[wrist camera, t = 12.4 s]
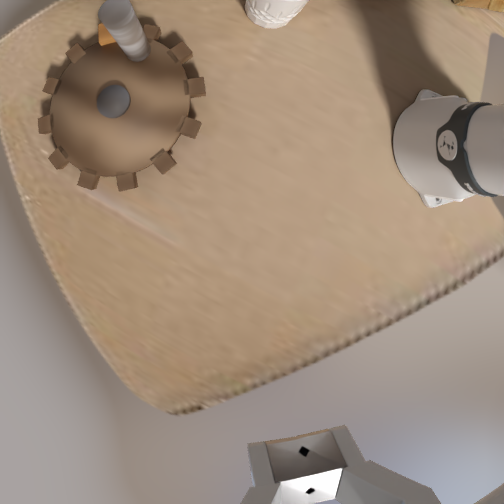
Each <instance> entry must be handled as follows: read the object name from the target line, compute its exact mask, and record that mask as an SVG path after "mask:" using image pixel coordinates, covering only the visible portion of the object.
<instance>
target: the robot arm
mask: <svg viewBox="0 0 504 504" xmlns="http://www.w3.org/2000/svg"><path fill="white" fill-rule="evenodd" d="M393 148H394V155H395V159H396V163H397V165H398V168H399V170H400V172H401V174H402V176H403V177H404V178H405V180H406V181H407V182H408V183H409V184H410V185H411V186H412V187H413V188H414V189H416V190H417V191H418V193H419V194H420V196H421V198H422V201H423V202H424V204H425V205H426V206H427V207H431V208H434V207H437V206H440V205H443V204H446V203H450V202H453V201H459V202H460V201H463V199H466V198H469V197H471V196H474V195H479V196H484V197H486V196H488V197H489V196H490V197H494V196H498V195H501V196H504V104H498V105H492V104H490V103H483V102H467V99H466V98H459V97H458V96H456V95H451V96H442V95H440V94H438V93H435V92H433V91H431V90H428V89H424V90H421V91H420V92H419V94H418V96H417V98H416V100H415V102H414V103H413V104H412V105H410V106H409V107H408V108H406V109H405V110H404V111H403V113H402V114H401V115H400V117H399V119H398V121H397V123H396V126H395V130H394V137H393ZM436 198H437V199H436ZM247 448H248V456H249V463H250V470H251V477H252V483H253V487H250V488H249V490H248V492H247V493H246V495H245V497H244V498H243V500H242V502H241V504H313V503H318V502H322V501H326V500H331V499H335V498H336V500H337V501H338V502H340V503H341V504H441V503H440V501H439V500H438V498H437V497H436V495H435V493H434V492H433V491H432V489H431V488H429V487H427V486H424V485H422V484H420V483H418V482H415V481H413V480H411V479H409V478H406V477H404V476H402V475H400V474H398V473H396V472H393V471H391V470H389V469H387V468H385V467H383V466H381V465H379V464H377V463H375V462H373V461H371V460H369V461H365V459H364V457H363V455H362V453H361V452H360V450H359V448H358V446H357V444H356V442H355V441H354V439H353V437H352V435H351V433H350V431H349V430H348V428H347V427H346V426H345V425H342V426H339V427H334V428H331V429H325V430H321V431H316V432H312V433H308V434H303V435H298V436H296V437H291V438H284V439H278V440H270V441H265V442H264V441H263V442H256V443H248V444H247ZM474 504H504V483H503V484H502V485H501V486H499V487H498V488H497V489H495V490H494V491H492V492H491V493H489V494H488V495H487V496H485V497H484V498H482V499H481V500H479V501H477V502H476V503H474Z"/></svg>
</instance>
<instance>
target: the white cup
mask: <svg viewBox="0 0 504 504" xmlns="http://www.w3.org/2000/svg"><path fill="white" fill-rule="evenodd" d="M308 1H309V0H246V3H245V10H246V14H247V16H248V17H249V18H250V19H251V20H252V21H253V23H255V24H257V25H259V26H261V27H264V28H274V29H276V28H279V27H282V26H285V25H287V24H288V23H289V22H290V21H291V20H292V19H293V17H295V16H296V15H297V14H298V13H299V12H300V11H301V10H302V8H303V7H304V6H305V5H306V4H307V3H308Z"/></svg>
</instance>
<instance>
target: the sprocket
mask: <svg viewBox="0 0 504 504" xmlns="http://www.w3.org/2000/svg"><path fill="white" fill-rule="evenodd" d="M98 17H99V19H100V20H101V22H102V23H101V24H98V35H99V42H98V43H96V44H94V45H92V46H91V47H89V48H87V49H86V50H84V49H83V48H82V47H81V46H80V45H79V44H78V43H76V44H75V45H74V46H73V47H72V48H71V49H69V50H68V51H67V52H66V53H65V54H66V55H67V56H68V57H69V59H70V60H71V61H72V62H71V63H70V64H69V66H68V67H67V68H66V69H65V71H64V72H63V74H62V75H61V77H60V79H56V78H51V77H48V79H47V81H46V84H45V86H44V89H43V92H45V93H48V94H51V95H53V96H52V100H51V105H50V114H49V115H47V116H44V117H41V118H38V127H39V133H40V134H48V133H51V132H52V135H53V138H54V141H55V143H56V145H57V147H58V148H57V149H56V150H55V151H54V152H53V153H52V154H51V155H50V157H49V158H48V159H49V160H50V161H51V163H52V164H53V165H54V167H55V168H56V169H63V168H64V167H65V166H66V165H67V164H68V163H69V162H70V163H71V164H72V165H74V166H75V167H77V168H78V169H80V170H82V171H81V174H80V178H79V181H78V184H77V185H79V186H81V187H84V188H87V189H90V190H93V189H96V188H97V184H98V181H99V178H100V176H105V177H109V176H116V178H117V184H118V189H119V191H124V190H128V189H133V188H137V187H138V184H137V178H136V172H138V171H140V170H142V169H145V168H147V167H148V166H150V165H152V164H154V165H155V166H156V167H157V169H158V170H159V171H160V172H161V174H165V173H166V172H167V171H169V170H170V169H171V168H172V167H173V166H175V165H176V164H177V163H176V161H175V160H174V159H173V158H172V157H171V155H170V154H169V153H168V151H169V150H170V149H171V147H172V146H173V145H174V144H175V143H176V141H177V139H178V138H179V136H180V135H181V134H182V135H185V136H188V137H191V138H194V139H195V138H196V136H197V133H198V131H199V129H200V126H201V122H200V121H197V120H194V119H192V118H189V117H188V114H189V109H190V98H194V97H200V96H206V92H205V84H204V77H198V78H192V79H187V76H186V73H185V70H184V68H183V66H182V64H183V63H185V62H186V61H188V60H189V59H190V58H192V57H193V54H192V51H191V50H190V49H189V48H188V46H187V45H186V44H185V43H184V42H183V41H182V42H180V43H179V44H177V45H176V46H174V47H173V48H171V49H168V48H167V47H166V46H164V45H163V44H161V43H159V42H157V41H158V39H159V37H160V35H161V30H160V27H156V26H152V25H148V24H145V25H144V27H143V29H142V27H141V25H140V22H139V20H138V18H137V16H136V14H135V12H134V9H133V7H132V5H131V3H130V1H129V0H107V1H106V2H104V3H103V5H102V6H101V7H100V9H99V12H98Z"/></svg>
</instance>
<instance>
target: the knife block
mask: <svg viewBox="0 0 504 504" xmlns="http://www.w3.org/2000/svg"><path fill="white" fill-rule="evenodd" d="M453 1H454V3H455V5H458V6H467V7H475V8H485V9H486V8H488V9H489V10H493V11H499V12H504V0H453Z"/></svg>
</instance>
